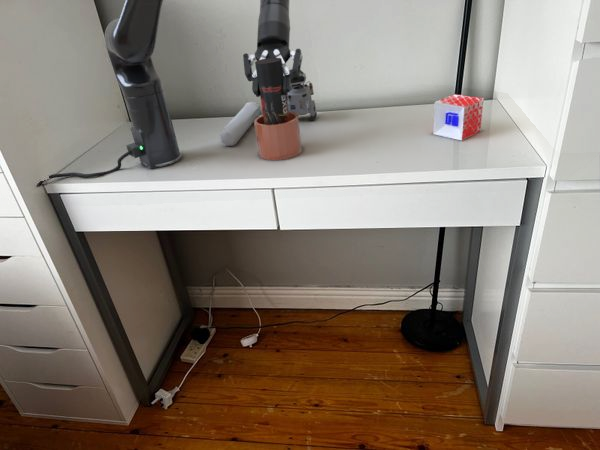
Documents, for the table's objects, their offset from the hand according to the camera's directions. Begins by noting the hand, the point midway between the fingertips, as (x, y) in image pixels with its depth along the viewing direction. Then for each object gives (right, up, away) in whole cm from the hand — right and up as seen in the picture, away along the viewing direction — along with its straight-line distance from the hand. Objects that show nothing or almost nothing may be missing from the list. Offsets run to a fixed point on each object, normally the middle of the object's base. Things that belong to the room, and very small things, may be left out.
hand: (271, 93), depth 102 cm
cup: (+2, -12, +9) cm, 15 cm away
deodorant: (+1, -6, +6) cm, 9 cm away
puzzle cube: (+45, -7, +8) cm, 46 cm away
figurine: (+7, 0, +28) cm, 29 cm away
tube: (-10, -4, +26) cm, 28 cm away
